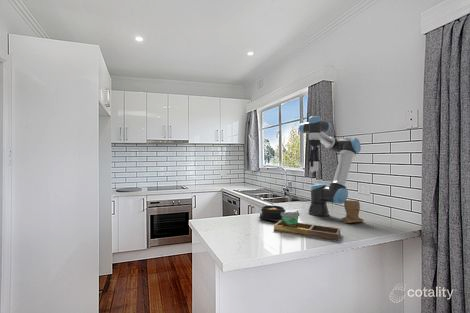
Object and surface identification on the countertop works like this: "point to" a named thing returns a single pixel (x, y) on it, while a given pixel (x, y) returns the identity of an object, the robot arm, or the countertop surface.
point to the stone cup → (352, 211)
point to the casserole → (272, 213)
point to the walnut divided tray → (310, 230)
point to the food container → (290, 219)
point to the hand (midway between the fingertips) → (314, 171)
